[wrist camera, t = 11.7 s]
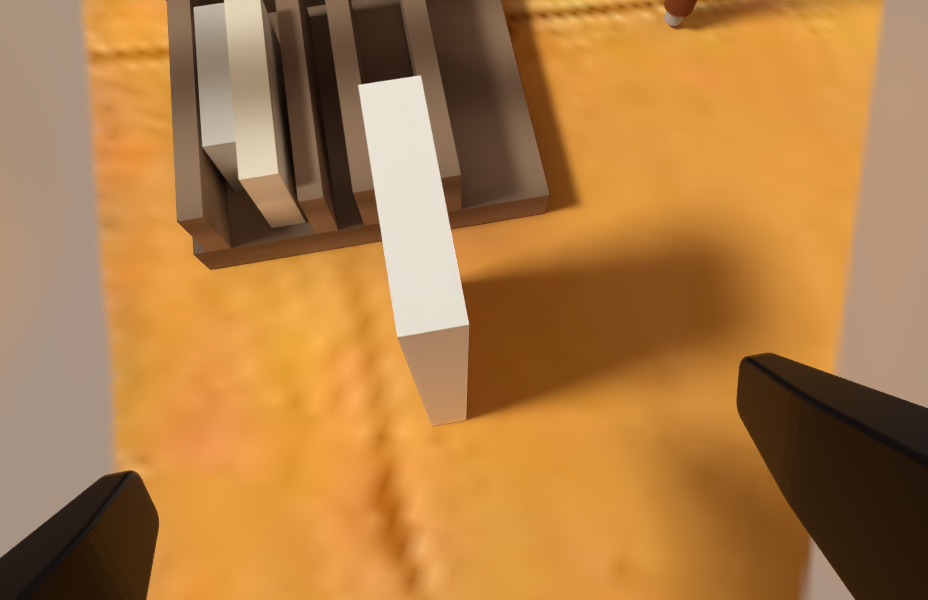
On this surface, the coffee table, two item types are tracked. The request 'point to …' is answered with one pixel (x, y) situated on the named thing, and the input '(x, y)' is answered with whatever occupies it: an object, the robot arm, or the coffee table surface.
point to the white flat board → (418, 245)
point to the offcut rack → (336, 118)
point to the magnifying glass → (677, 10)
